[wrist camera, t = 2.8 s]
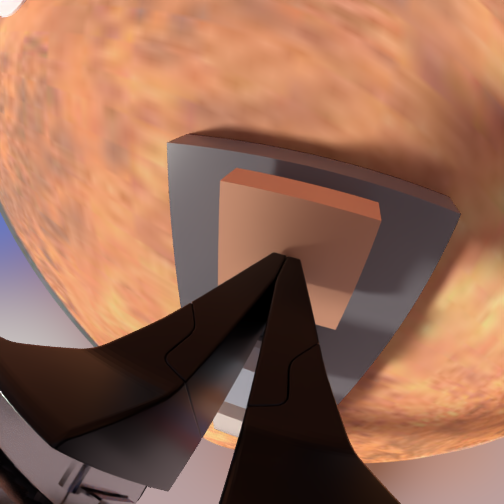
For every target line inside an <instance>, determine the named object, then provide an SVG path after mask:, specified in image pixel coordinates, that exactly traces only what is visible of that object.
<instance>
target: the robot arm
mask: <svg viewBox="0 0 504 504" xmlns="http://www.w3.org/2000/svg"><path fill="white" fill-rule="evenodd" d="M265 325H266V326H265ZM264 327H265V330H264V335H263V339H262V343H261V348H260V352H259V356H258V361H257V365H256V369H255V373H254V378H253V382H252V386H251V390H250V394H249V398H248V402H247V406H246V410H245V414H244V418H243V422H242V426H241V429H240V433H239V437H238V440H237V444H236V447H235V451H234V455H233V458H232V461H231V465H230V468H229V472H228V475H227V478H226V482H225V485H224V488H223V491H222V495H221V498H220V501H219V504H401V503H400V502H399V501H398V500H397V499H396V498H395V497H394V496H393V495H392V494H391V493H390V492H389V491H388V490H387V488H386V487H385V486H384V485H383V484H382V483H381V482H380V481H379V480H378V479H377V477H376V476H375V475H374V474H373V473H372V472H371V471H370V470H369V468H368V467H367V466H366V465H365V464H364V463H363V461H362V460H361V459H360V458H359V457H358V455H357V454H356V452H355V451H354V449H353V447H352V445H351V443H350V441H349V439H348V436H347V433H346V430H345V427H344V424H343V421H342V418H341V415H340V412H339V409H338V407H337V404H336V401H335V398H334V395H333V392H332V389H331V386H330V382H329V379H328V376H327V373H326V369H325V365H324V360H323V356H322V351H321V346H320V344H319V338H318V333H317V328H316V324H315V319H314V315H313V310H312V306H311V301H310V297H309V293H308V289H307V284H306V280H305V276H304V272H303V268H302V264H301V260H300V259H297V258H294V257H290V256H288V257H286V256H285V255H283V254H279V253H276V252H273V253H271V254H269V255H268V256H266V257H265V258H263V259H261V260H260V261H258V262H256V263H255V264H253V265H251V266H250V267H248V268H247V269H245V270H243V271H242V272H240V273H238V274H237V275H235V276H233V277H232V278H230V279H229V280H227V281H225V282H224V283H222V284H220V285H219V286H217V287H215V288H214V289H212V290H210V291H209V292H207V293H205V294H204V295H202V296H200V297H199V298H197V299H195V300H194V301H192V303H189V304H187V305H185V306H184V307H182V308H180V309H179V310H177V311H175V312H173V313H171V314H170V315H168V316H166V317H164V318H162V319H160V320H158V321H156V322H154V323H152V324H150V325H148V326H146V327H143V328H141V329H139V330H137V331H134V332H132V333H130V334H128V335H125V336H123V337H121V338H119V339H116V340H114V341H112V342H110V343H107V344H104V345H102V346H98V347H94V348H87V349H77V348H61V347H50V346H40V345H31V344H22V343H16V342H11V341H9V340H6V339H4V338H2V337H0V504H136V502H137V501H138V500H139V499H140V497H141V496H142V494H143V492H144V491H145V489H146V487H147V486H148V487H150V488H151V487H153V488H156V489H160V490H164V491H169V490H170V488H171V487H172V485H173V484H174V482H175V480H176V479H177V477H178V476H179V474H180V473H181V471H182V470H183V468H184V467H185V465H186V463H187V462H188V460H189V459H190V457H191V455H192V454H193V452H194V451H195V449H196V447H197V446H198V444H199V442H200V441H201V438H202V437H203V436H204V434H205V433H206V431H207V429H208V428H209V426H210V424H211V423H212V421H213V419H214V417H215V416H216V414H217V412H218V411H219V409H220V407H221V405H222V404H223V402H224V400H225V399H226V397H227V395H228V393H229V392H230V390H231V388H232V386H233V385H234V383H235V381H236V379H237V377H238V376H239V374H240V372H241V370H242V368H243V367H244V365H245V363H246V361H247V359H248V357H249V356H250V354H251V352H252V350H253V348H254V346H255V344H256V343H257V341H258V339H259V337H260V335H261V333H262V331H263V329H264Z"/></svg>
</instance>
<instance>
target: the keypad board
mask: <svg viewBox="0 0 504 504" xmlns="http://www.w3.org/2000/svg"><path fill="white" fill-rule="evenodd" d="M167 159H168V182H169V199H170V213H171V225H172V237H173V247H174V256H175V265H176V274H177V282H178V290H179V297H180V304H181V308H182V307H184V306H185V305H187V304H189V303H192V301H194V300H195V299H197V298H199V297H200V296H202V295H204V294H205V293H207V292H209V291H210V290H212V289H214V288H215V287H217V286H218V236H219V197H220V180H221V179H223V178H224V177H225V176H226V175H228V174H229V173H230V172H231V171H233V170H234V169H235V168H240V169H246V170H251V171H256V172H261V173H265V174H270V175H275V176H279V177H284V178H288V179H293V180H297V181H301V182H305V183H309V184H314V185H318V186H321V187H325V188H329V189H333V190H337V191H340V192H344V193H348V194H351V195H355V196H358V197H362V198H365V199H369V200H372V201H375V202H379V208H380V215H381V224H380V226H379V229H378V232H377V235H376V237H375V240H374V243H373V245H372V248H371V250H370V253H369V255H368V258H367V260H366V263H365V265H364V268H363V270H362V273H361V275H360V277H359V280H358V282H357V284H356V287H355V289H354V291H353V294H352V296H351V298H350V300H349V302H348V305H347V307H346V309H345V311H344V313H343V315H342V317H341V320H340V322H339V324H338V326H337V328H336V330H334V329H331V328H327V327H323V326H320V325H316V328H317V333H318V338H319V344H320V346H321V351H322V356H323V360H324V365H325V369H326V373H327V376H328V379H329V382H330V386H331V389H332V392H333V395H334V398H335V401H336V404H337V405H338V404H339V403H340V402H341V400H342V399H343V398H344V397H345V396H346V395H347V394H348V393H349V391H350V390H351V389H352V388H353V387H354V386H355V384H356V383H357V382H358V381H359V380H360V378H361V377H362V376H363V375H364V374H365V372H366V371H367V370H368V369H369V367H370V366H371V365H372V364H373V362H374V361H375V360H376V358H377V357H378V356H379V354H380V353H381V352H382V351H383V349H384V348H385V346H386V345H387V344H388V342H389V341H390V340H391V338H392V337H393V335H394V334H395V332H396V331H397V330H398V328H399V327H400V325H401V324H402V322H403V321H404V319H405V318H406V316H407V315H408V313H409V311H410V310H411V308H412V307H413V305H414V304H415V302H416V300H417V299H418V297H419V295H420V294H421V292H422V290H423V289H424V287H425V285H426V283H427V282H428V280H429V278H430V276H431V275H432V273H433V271H434V269H435V267H436V265H437V264H438V262H439V260H440V258H441V256H442V254H443V252H444V250H445V248H446V246H447V244H448V242H449V240H450V238H451V235H452V233H453V231H454V229H455V227H456V224H457V222H458V220H459V218H460V215H461V214H460V212H459V211H458V209H457V208H456V206H455V205H454V203H453V202H452V200H451V199H450V197H448V196H445V195H443V194H440V193H438V192H435V191H432V190H430V189H427V188H424V187H421V186H419V185H416V184H413V183H410V182H407V181H404V180H401V179H398V178H395V177H392V176H389V175H386V174H383V173H380V172H376V171H373V170H370V169H366V168H363V167H359V166H356V165H352V164H348V163H345V162H341V161H337V160H333V159H329V158H325V157H321V156H316V155H312V154H308V153H303V152H299V151H294V150H289V149H284V148H279V147H274V146H268V145H263V144H257V143H251V142H245V141H238V140H232V139H224V138H217V137H209V136H200V135H191V134H186V135H184V136H181V137H179V138H177V139H174V140H172V141H170V142H167ZM265 326H266V325H265ZM264 330H265V327H264V329H263V331H262V333H261V335H260V337H259V339H258V341H262V339H263V335H264Z"/></svg>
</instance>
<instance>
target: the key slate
mask: <svg viewBox="0 0 504 504" xmlns="http://www.w3.org/2000/svg"><path fill="white" fill-rule="evenodd" d="M261 343H262V341H257V343H256V344H255V346H254V348H253V350H252V352H251V354H250V356H249V357H248V359H247V361H246V363H245V365H244V367H243V368H242V370H241V372H240V374H239V376H238V377H237V379H236V381H235V383H234V385H233V386H232V388H231V390H230V392H229V393H228V395H227V397H226V399H225V400H224V401H225V402H228V403H231V404H234V405H236V406H239V407H242V408H245V409H246V406H247V402H248V398H249V394H250V390H251V386H252V382H253V378H254V373H255V369H256V365H257V361H258V356H259V352H260V348H261Z"/></svg>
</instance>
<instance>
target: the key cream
mask: <svg viewBox="0 0 504 504" xmlns="http://www.w3.org/2000/svg"><path fill="white" fill-rule="evenodd" d="M245 410H246V409H245V408H242V407H239V406H236V405H234V404H231V403H228V402H225V401H224V402H223V404H222V405H221V407H220V409H219V411H218V412H217V414H216V416H215V417H214V419H213V423H214V429H217V430H219V431H222V432H225V433H227V434H230V435H233V436H236V437H239V433H240V429H241V426H242V422H243V418H244V414H245Z"/></svg>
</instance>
